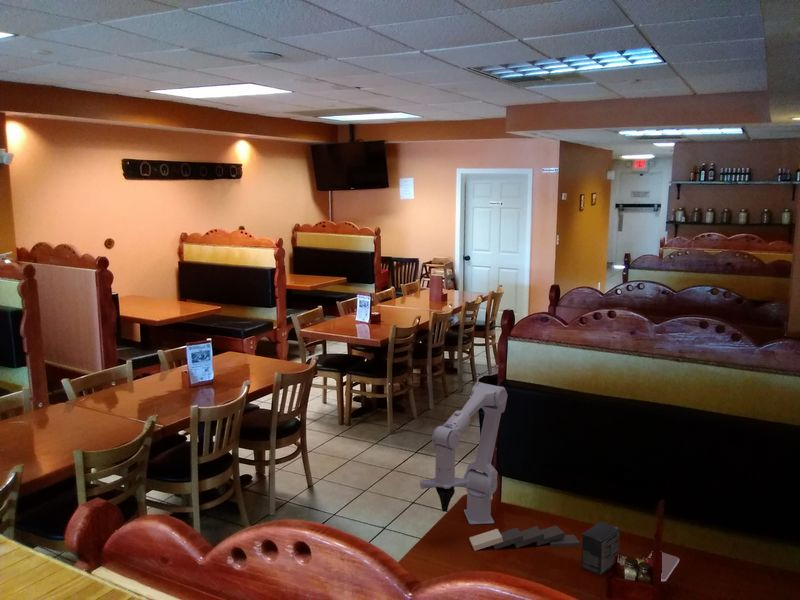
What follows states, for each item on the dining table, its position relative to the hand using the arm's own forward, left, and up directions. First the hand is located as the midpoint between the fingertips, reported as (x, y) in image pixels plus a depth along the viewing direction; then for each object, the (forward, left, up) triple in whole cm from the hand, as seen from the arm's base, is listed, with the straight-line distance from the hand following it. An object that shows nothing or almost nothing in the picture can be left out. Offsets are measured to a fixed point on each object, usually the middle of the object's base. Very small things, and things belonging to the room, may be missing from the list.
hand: (444, 510), depth 195 cm
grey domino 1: (+3, +14, -10) cm, 17 cm away
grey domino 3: (+3, +31, -10) cm, 33 cm away
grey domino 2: (+2, +27, -10) cm, 29 cm away
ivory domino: (+3, +8, -10) cm, 13 cm away
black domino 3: (+3, +20, -10) cm, 23 cm away
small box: (+16, +42, -11) cm, 46 cm away
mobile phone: (+18, +58, -11) cm, 62 cm away
